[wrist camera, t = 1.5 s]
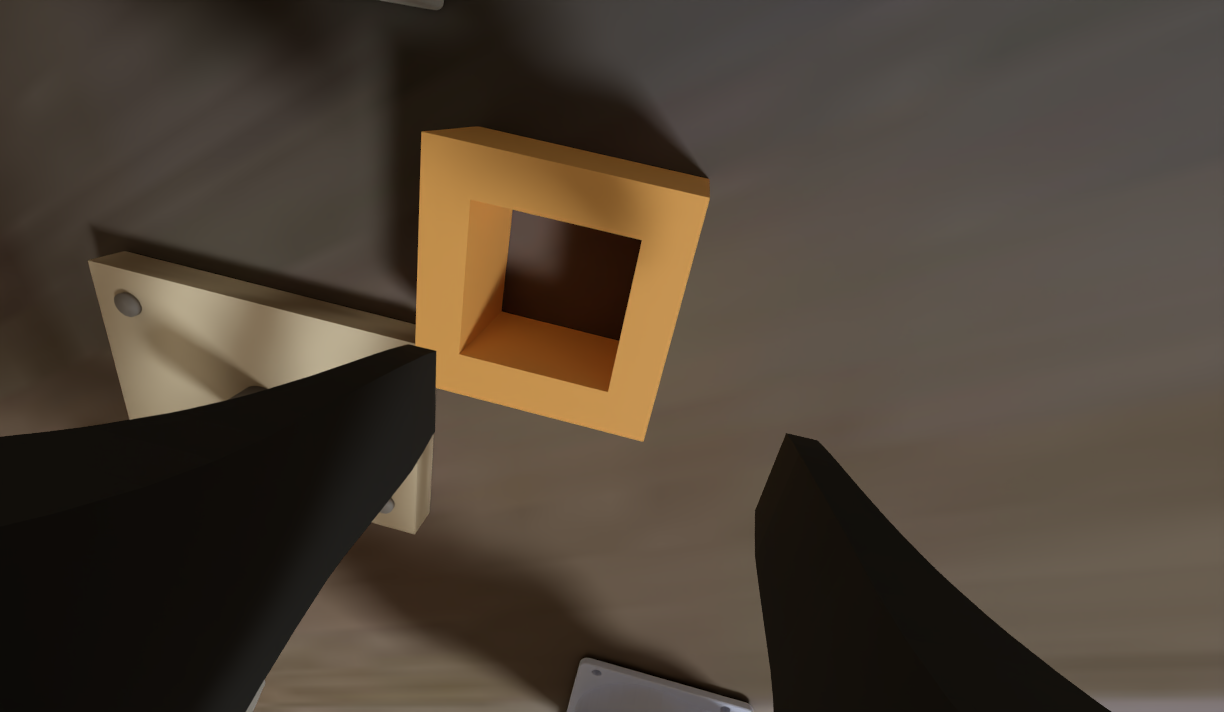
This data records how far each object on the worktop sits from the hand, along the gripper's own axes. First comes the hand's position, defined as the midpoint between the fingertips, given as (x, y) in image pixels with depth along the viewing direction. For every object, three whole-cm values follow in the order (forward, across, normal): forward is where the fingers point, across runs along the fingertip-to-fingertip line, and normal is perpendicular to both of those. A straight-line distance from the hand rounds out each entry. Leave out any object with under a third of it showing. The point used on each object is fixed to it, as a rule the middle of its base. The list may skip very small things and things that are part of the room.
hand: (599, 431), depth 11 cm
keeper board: (+10, +15, +9) cm, 20 cm away
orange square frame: (+10, +3, 0) cm, 10 cm away
